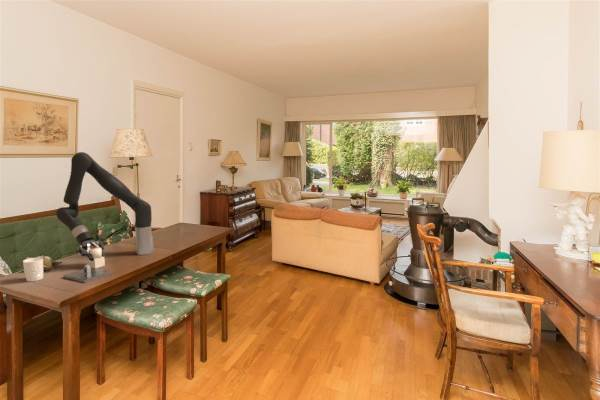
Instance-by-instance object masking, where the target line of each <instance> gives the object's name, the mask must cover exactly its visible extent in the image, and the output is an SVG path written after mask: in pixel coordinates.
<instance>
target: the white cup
mask: <svg viewBox="0 0 600 400" xmlns="http://www.w3.org/2000/svg"><path fill="white" fill-rule="evenodd" d="M36 257H37V256H36ZM36 257H29V258H30V259H26V258H25V259H24V260H22V265H23V272H24V276H25V280H26V282H28V283H29V282H36V281H40V280H43V279H44V270H43V258H41V257H37V258H36Z"/></svg>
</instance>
